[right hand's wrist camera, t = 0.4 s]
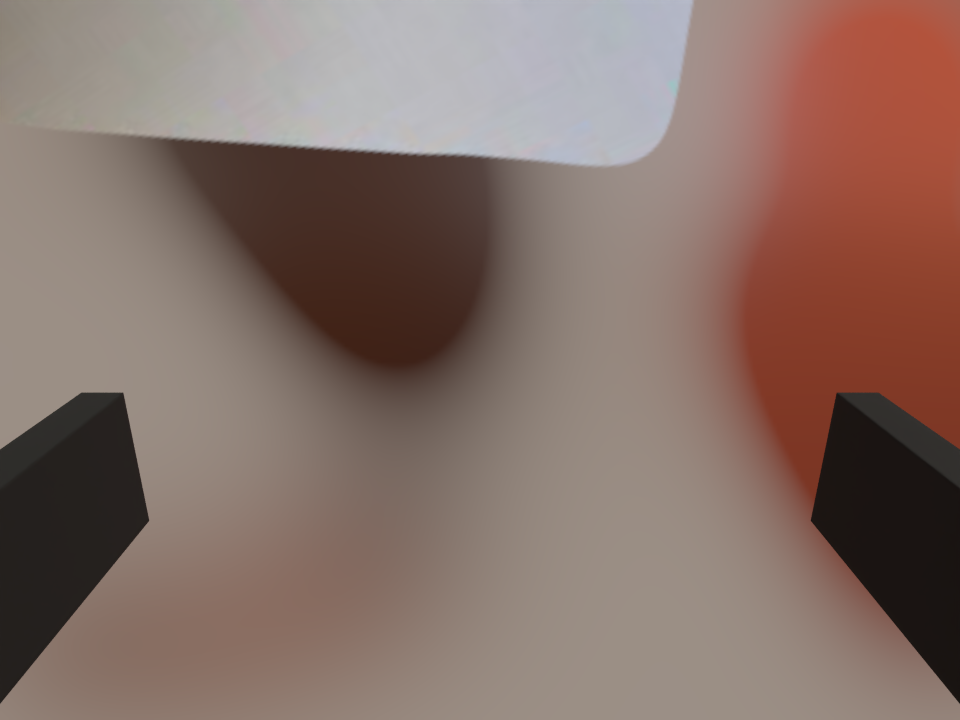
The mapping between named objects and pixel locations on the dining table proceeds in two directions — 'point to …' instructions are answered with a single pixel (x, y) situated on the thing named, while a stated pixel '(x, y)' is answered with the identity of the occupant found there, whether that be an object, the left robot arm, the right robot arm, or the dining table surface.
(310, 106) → the dining table surface
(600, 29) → the dining table surface
